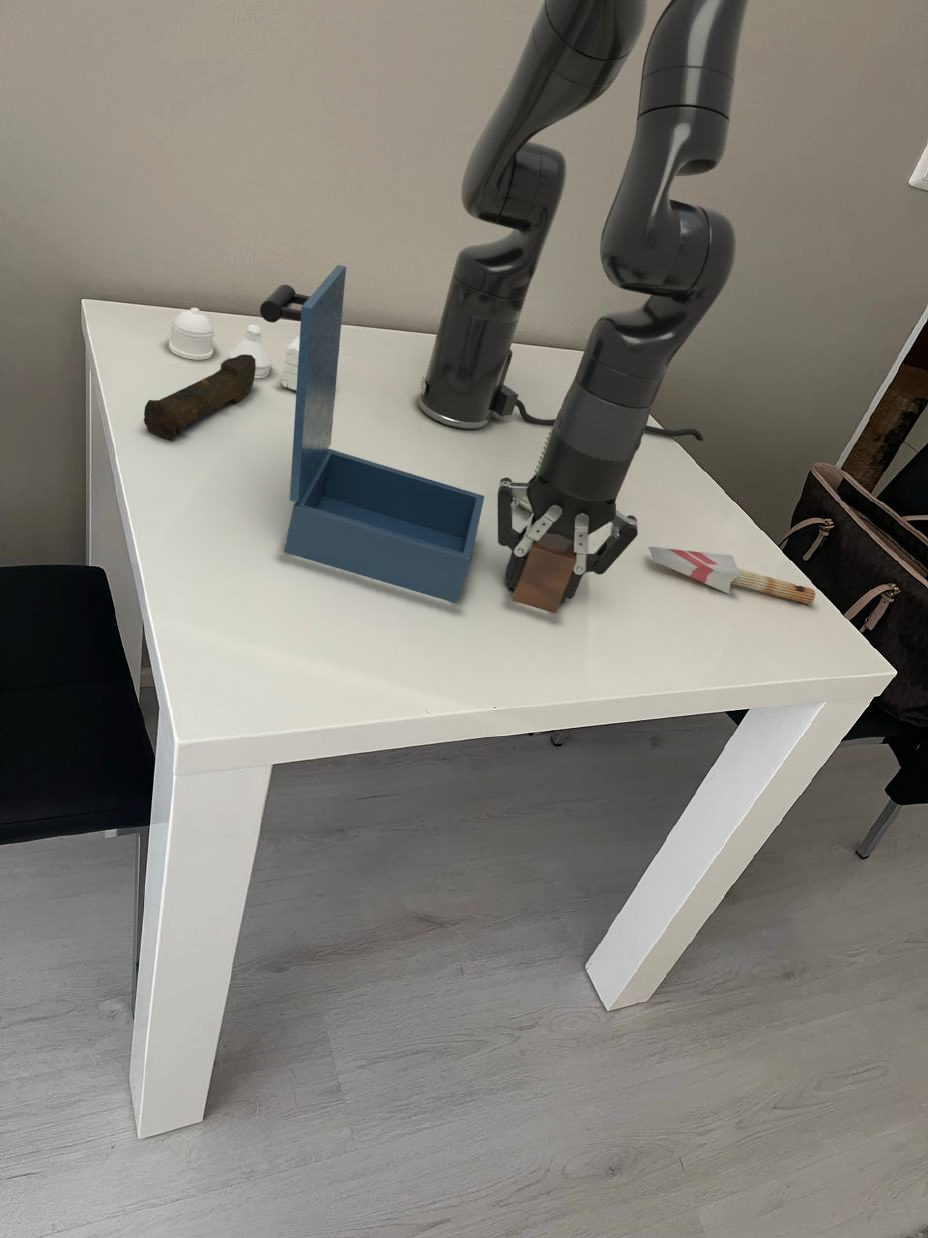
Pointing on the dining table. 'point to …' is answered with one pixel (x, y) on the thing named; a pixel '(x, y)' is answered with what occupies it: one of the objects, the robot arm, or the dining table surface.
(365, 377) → the dining table surface
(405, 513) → the toolbox
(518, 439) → the dining table surface
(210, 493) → the dining table surface
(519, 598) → the brown block
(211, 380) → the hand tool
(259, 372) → the container set
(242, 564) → the dining table surface
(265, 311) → the toolbox lid
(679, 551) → the knife with wooden handle
